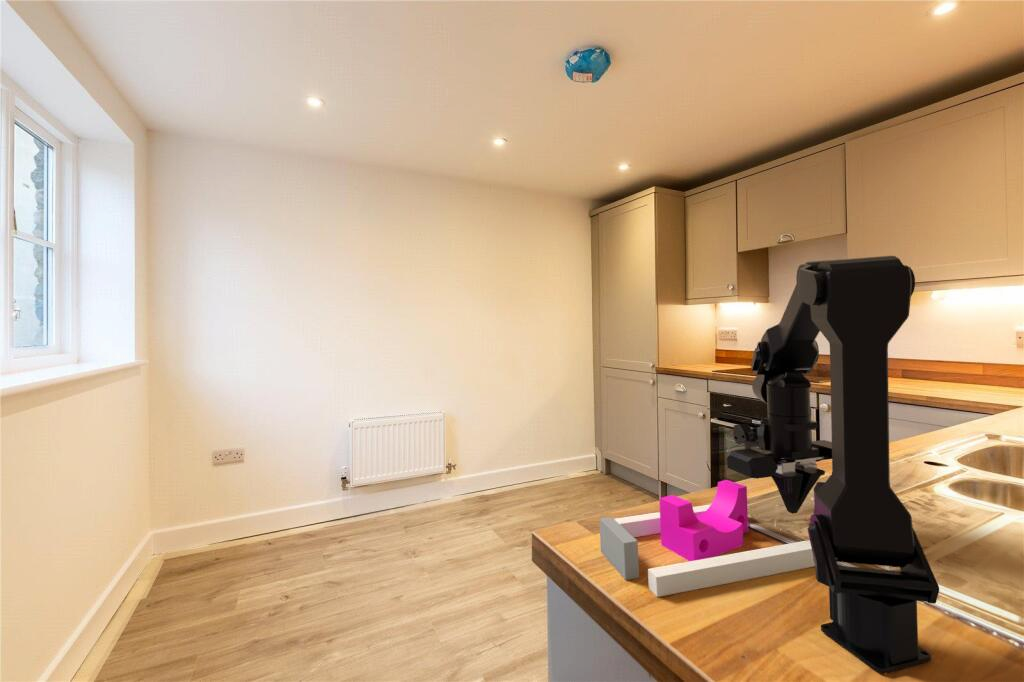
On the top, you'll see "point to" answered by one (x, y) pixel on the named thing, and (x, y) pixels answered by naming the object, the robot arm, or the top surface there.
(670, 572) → the chute
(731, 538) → the toy block
